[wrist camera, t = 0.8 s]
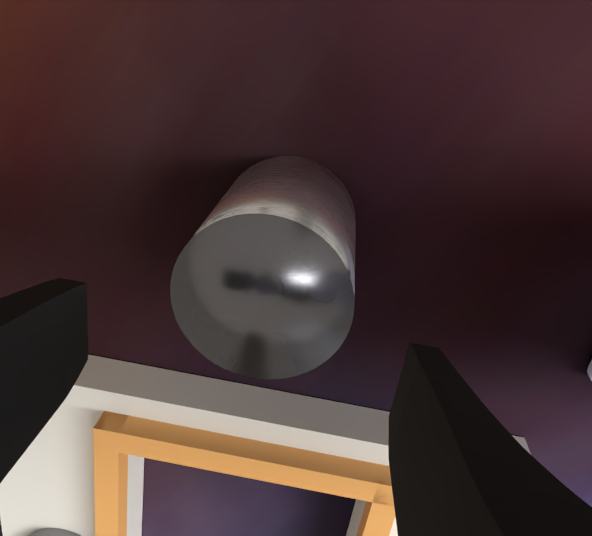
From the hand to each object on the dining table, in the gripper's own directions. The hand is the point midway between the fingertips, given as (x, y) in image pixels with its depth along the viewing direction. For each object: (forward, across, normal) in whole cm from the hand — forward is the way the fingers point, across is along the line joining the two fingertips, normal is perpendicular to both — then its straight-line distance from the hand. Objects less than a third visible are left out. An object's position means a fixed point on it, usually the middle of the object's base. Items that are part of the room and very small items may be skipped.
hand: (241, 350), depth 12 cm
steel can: (+8, 0, 0) cm, 8 cm away
